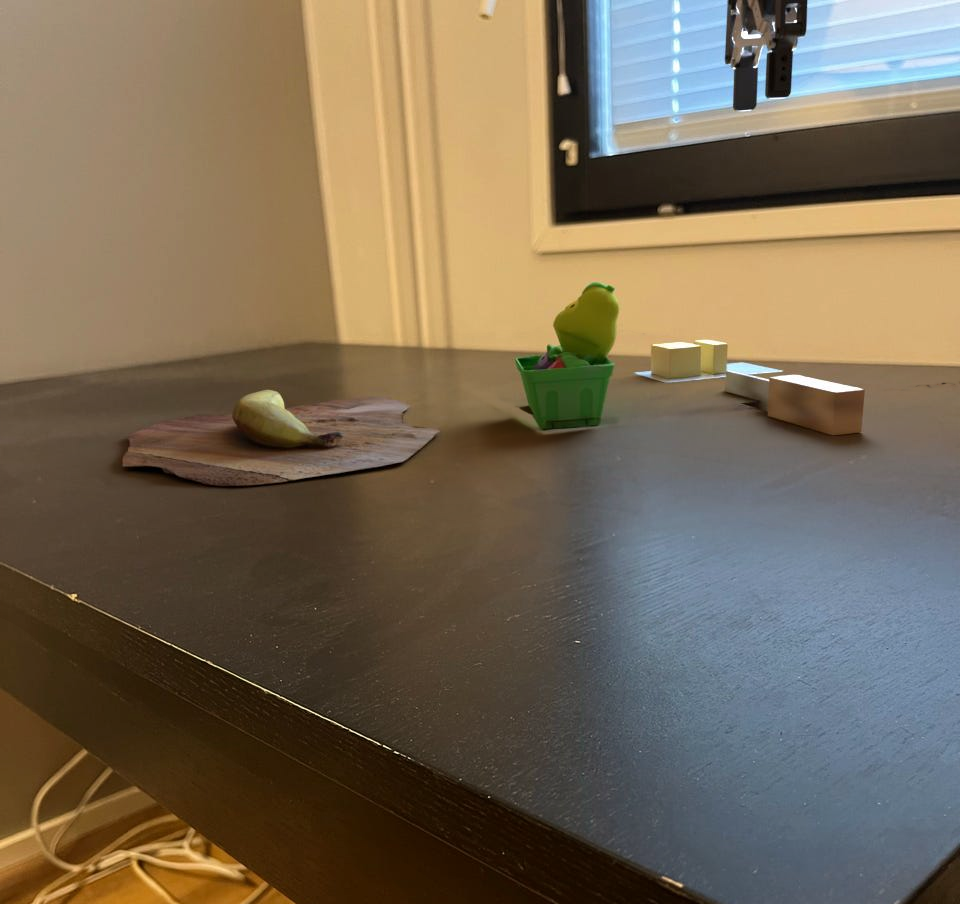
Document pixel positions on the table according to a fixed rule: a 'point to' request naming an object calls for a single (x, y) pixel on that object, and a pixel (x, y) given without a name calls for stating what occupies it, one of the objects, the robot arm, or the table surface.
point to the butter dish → (735, 367)
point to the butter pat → (713, 356)
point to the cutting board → (279, 440)
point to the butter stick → (676, 360)
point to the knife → (803, 401)
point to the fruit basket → (574, 362)
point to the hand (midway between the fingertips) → (760, 104)
